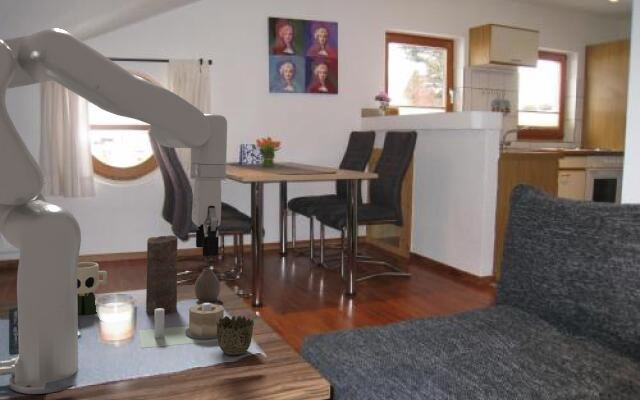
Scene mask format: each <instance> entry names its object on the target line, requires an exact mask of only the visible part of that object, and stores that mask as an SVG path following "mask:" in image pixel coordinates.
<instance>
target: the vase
mask: <svg viewBox="0 0 640 400" xmlns="http://www.w3.org/2000/svg"><path fill="white" fill-rule="evenodd" d="M220 293H221V283H220V280H219V278H218V277H217V275H216V274H215V273H214V270H213V269H211V268H204V269H202V272H201V274H200V275H199V276H198V277H197V278H196V280H195V284H194V294H195V297H196V299H197V300H198V301H199V302H200V303H202V304H203V303H210V302H211V303H214V302H215V301H217V299H218V298H219V296H220Z"/></svg>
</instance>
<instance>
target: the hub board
mask: <svg viewBox="0 0 640 400" xmlns="http://www.w3.org/2000/svg"><path fill="white" fill-rule="evenodd" d="M201 304H202V311H211V304H212V302H211V303H203V302H202V303H201ZM138 335H139V344H140V348H141V349H147V348H157V347H166V346H167V347H168V346H178V345H187V344H189V345H190V344H199V343H209V342H218V335H214V336H203V337H201V336H197V335H192V334H191V333H190V331H189V325H187V326H175V327H165V315H164V309H163V308H158V309H155V315H154V328H152V329H150V328H149V329H139V330H138Z"/></svg>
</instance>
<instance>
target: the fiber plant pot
mask: <svg viewBox="0 0 640 400" xmlns="http://www.w3.org/2000/svg"><path fill="white" fill-rule="evenodd" d="M254 324H255V323H254V319H253V318H252V319H251V318H250V317H248V318H247V319H246V316H241V315H239V316H238V317H237V318H236V317H235V315H233V316H232V317H231V318H230V317H229V316H228V315H226V316H224V318H223V319H222V318H220V319H219V324H218V323H217V322H216V325H217V335H218V341H217V342H218V346H219V348H220V350H221V351H222V352H223V353H225V354H227V355H228V356H232V357H234V356H240V355H243V354H244V353H245V352H247V351H248V350H249V349H250V346H251V344H252V338H253V332H254V326H255V325H254Z"/></svg>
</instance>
